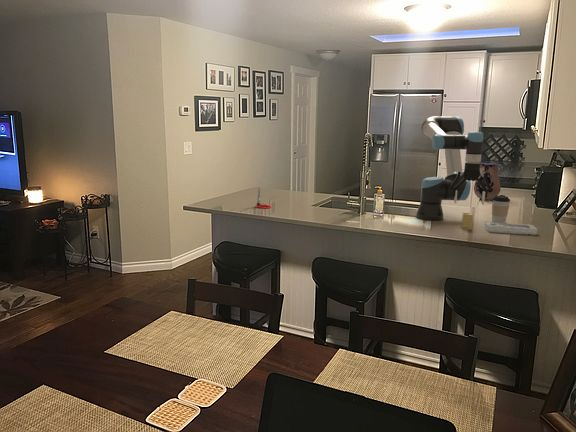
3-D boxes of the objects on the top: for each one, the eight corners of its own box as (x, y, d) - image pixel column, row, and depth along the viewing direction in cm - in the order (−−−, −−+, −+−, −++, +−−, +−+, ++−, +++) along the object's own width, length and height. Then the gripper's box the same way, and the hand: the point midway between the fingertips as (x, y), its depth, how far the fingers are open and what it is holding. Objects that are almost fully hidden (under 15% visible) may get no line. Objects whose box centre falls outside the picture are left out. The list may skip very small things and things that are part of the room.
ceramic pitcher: (469, 199, 339) (473, 163, 333) (477, 195, 356) (480, 161, 350) (496, 202, 329) (500, 165, 324) (502, 197, 346) (506, 163, 341)
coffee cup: (506, 225, 262) (509, 198, 259) (488, 222, 267) (491, 196, 264) (508, 222, 270) (511, 195, 266) (491, 219, 274) (494, 193, 271)
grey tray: (488, 232, 246) (488, 226, 246) (484, 227, 256) (485, 221, 255) (536, 235, 242) (537, 229, 241) (531, 230, 251) (532, 224, 251)
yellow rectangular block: (462, 229, 251) (463, 214, 250) (461, 227, 256) (462, 212, 254) (471, 229, 251) (473, 214, 249) (470, 227, 255) (471, 213, 253)
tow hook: (273, 207, 301) (259, 205, 304) (274, 187, 298) (260, 185, 301) (268, 210, 294) (254, 208, 296) (269, 189, 291) (255, 187, 293)
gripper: (448, 162, 244) (444, 203, 249) (500, 164, 239) (496, 206, 244) (446, 161, 252) (443, 201, 256) (497, 162, 247) (492, 203, 251)
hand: (468, 203), depth 250 cm, fingers open, 13 cm apart
